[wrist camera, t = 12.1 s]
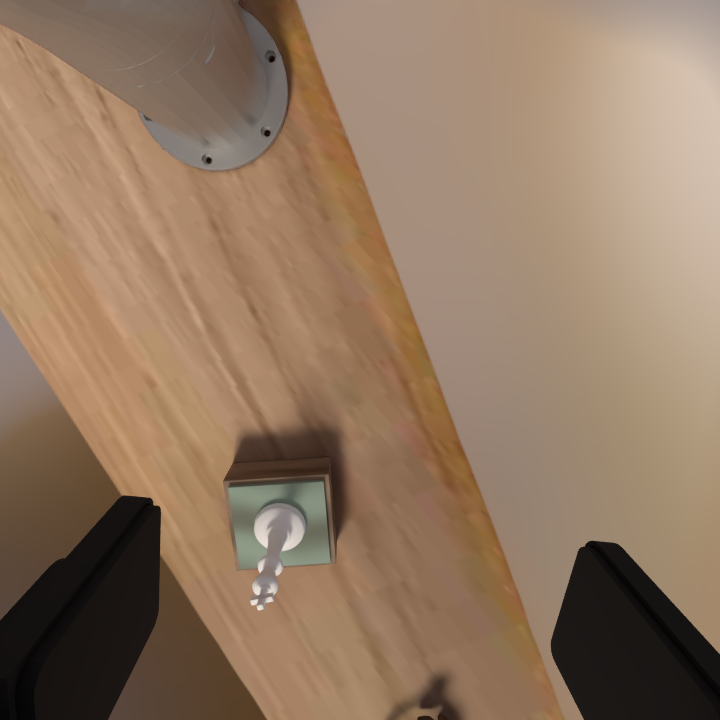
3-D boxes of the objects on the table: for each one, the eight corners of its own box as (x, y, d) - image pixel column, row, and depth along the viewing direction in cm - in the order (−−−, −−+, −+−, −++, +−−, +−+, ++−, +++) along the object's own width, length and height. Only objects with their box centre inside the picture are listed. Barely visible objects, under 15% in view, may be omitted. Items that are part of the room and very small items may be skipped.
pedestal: (232, 463, 45) (222, 483, 41) (330, 456, 45) (328, 476, 41) (244, 547, 47) (235, 573, 43) (336, 540, 47) (335, 566, 43)
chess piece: (249, 507, 42) (219, 586, 32) (299, 498, 41) (285, 574, 32) (261, 551, 43) (236, 639, 33) (310, 542, 43) (299, 628, 33)
